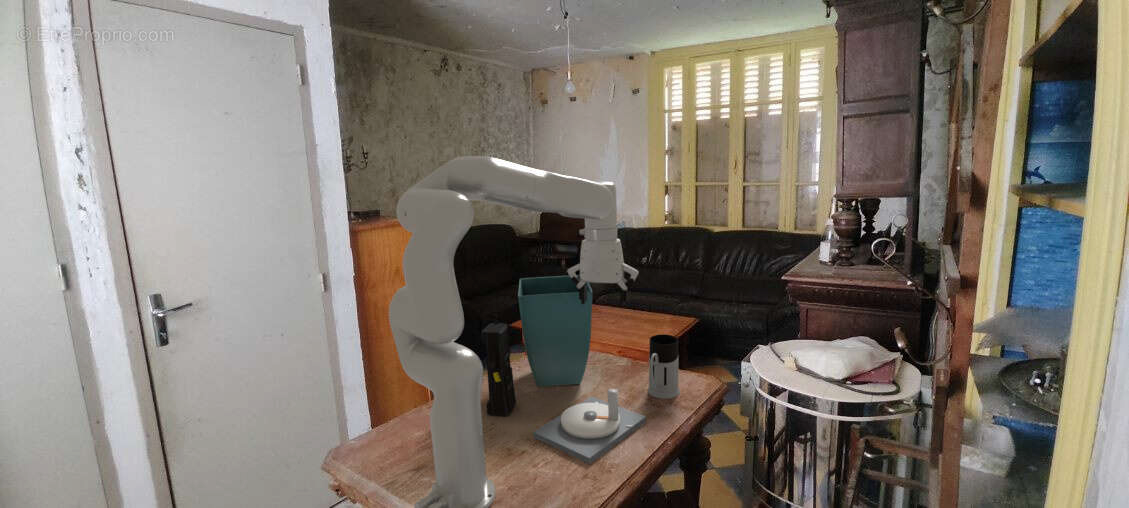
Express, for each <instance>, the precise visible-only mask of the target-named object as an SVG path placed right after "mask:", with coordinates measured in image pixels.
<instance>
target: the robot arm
mask: <svg viewBox="0 0 1129 508" xmlns="http://www.w3.org/2000/svg"><path fill="white" fill-rule="evenodd" d="M472 201H475V202H482V203H489V204H494V205H498V206H499V205H500V206H505V207H507V208H508V207H510V208H515V209H518V210H524V211H529V212H537V213H538V212H539V213H555V214H559V215H560V216H562V217H567V218H573V219H577V218H578V219H584V228H582V229H579V231H578V232H579V235H580V236H584V239H583V240H581V245H580V255H579V257H580V258H579V260H580V261H579V263H577V264H575V265H574V266H573V265H572V266H571V267H570V268H568V269H567V270H566V271H567V273H568V276H570V277H571V280H572V281H573V282H574V283H575V284H576V285H577V288H579V299H580V300H581V304H585V303H586V301H587V286H586V285H585V283H586V282H588V283H589V284H590V283H593V284H617V286H619V287H620V288H621V289H620V290H619V303H620V304H619V305H620V307H624V306H625V305H626V303H627V302H628V300H629V297H628V292H629V291H628V288H630V286H632V285H633V283H634V282H635V281H636V278H637V277H638V275H639V270H638V269H635V268H634V267H632V266H630V265H628V264H626V263H625V262H624V261H625V260H624V254H623V248H622V242H621V239H620V238H618V217H617V216H618V215H617V214H618V213H617V212H618V211H617V209H618V208H617V187H616V184H615V183H614V182H612V181H608V180H607V181H606V180H605V181H600V180H599V181H591V180H588V179H584V178H579V177H575V176H570V175H564V174H559V173H556V172H551V171H548V170H543V169H538V168H534V167H529V166H527V165H523V164H519V163H516V162H512V161H508V160H504V159H501V158H497V157H494V156H488V155H487V156H485V155H474V156H473V155H472V156H469V155H468V156H458V157H454V158H453V159H450V160H449V161H447V162H446V163H444V164H443V165H440V166H439V167H438V168H437V169H435V170H434V171H432V172H431V173H430V174H428V175H427V176H425V177H424V178H422V179H421V180H420V181H418V182H417V183H415V184H414V185H412V186H411V187H410V188H408V189H407V190H406V191H405V192H404V193H403V194H402V195H401V197H400V198H399V199H398V203H397V205H396V217H397V220H398V222H399V224H400V225H401V227H403V229H404V230H406V231H407V232H409V233H412V234H411V236H410V238H409V240H408V242H407V244H406V247H405V249H404V252H403V257H402V272H403V277H404V283H405V285H404V286H402V287H400V288H398V290H397V291H396V292H395V293H394V294H393V296H392V298H391V300H390V303H389V307H388V321H389V325H390V329H391V333H392V337H393V340H394V343H395V347H396V348H395V349H396V351H397V354H398V358H399V362H400V365H401V367H402V369H403V371H404V373H405V374H406V375H407V377H409V378H410V379H411V380H412V381H414V382H415V383H417V384H419V385H422V386H423V387H425V388H427V389H428V390H429V391H431V392H432V393H433V402H432V406H431V408H430V414H429V424H430V432H431V442H432V443H431V444H432V450H433V451H432V452H433V462H434V463H433V464H434V472H435V473H434V474H435V482H434V483H432V484H431V485H430V486H431V491H430V492H428V494H427V496H425V497H422V498H421V499H419V500H417V501H416V502H414V508H489V507H490V506H491V505H492V504H493V502H494V501H495V498H496V486H495V484H494V482H493V481H492V480H491V479H490V478H489V477H487V470H486V457H485V445H484V430H483V417H482V389H483V382H484V381H483V380H484V367H483V362H482V361H481V359H480V357H479V356H478V354H476V353H475V352H474V351H473V350H472V349H470V348H468V347H466V346H465V345H462V344H459V343H457V342H455V341H456V340H458V338H460V336H461V335H462V333H463V330H464V328H465V317H464V315H465V314H464V310H463V309H464V308H463V306H462V301H461V297H460V293H459V288H458V285H457V284H458V283H457V279H456V274H455V267H454V261H455V260H454V259H455V254H456V251H457V249H458V247H459V244H460V242H461V241H462V240H463V238H464V236H466V234H467V233H468V232H469V229H470V228H471V226H472V224H473V220H474V207H473V203H472ZM577 271H579V275H580V278H581V279H580V278H579V277H578V276H576V275H577V274H576V272H577ZM625 272H626V273H627V274H630V277H629V279H628V280H627V279H626V278H624V276H625Z"/></svg>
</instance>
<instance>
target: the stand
mask: <svg viewBox="0 0 1129 508" xmlns="http://www.w3.org/2000/svg"><path fill="white" fill-rule="evenodd" d="M582 403H600V404H605V405H608V401H605V400H603V399H600V398H597V397H595V396H590V397H587V398H586V399H585V400H583V401H582V402H580V403H579V404H582ZM618 413H619V415H620V426H619V428H618V430H617V431H615V432H614V433H613V434H611V435H609V436H606V437H602V438H597V439H584V438H578V437H575V436H572V435H570V434H568V433H567V432H565V431H564V430H563V428H562V425H561V416H562V413H561V414H560V415H558V416H556V417H554V418H553V419H552V420H550V421H548V422H546V423H545V424H543V425H541V426H540V427H538V428H536V429H535V430H533V431H532V438H534V439H535V440H537V439H538V441H540V442H542V443H544V444H546V445H548V446H550V447H552V446H553V448H554V447H555V448H554V449H556V448H557V450H558V449H559V451H561V452H563V453H565V454H567V455H569V456H571V457H573V458H576V459H578V460H580V461H582V462H584V463H587V464H588V465H591V464H592V463H594V462H595V461H596V460H598V459H600V457H602V456H603V455H604V454H606V453H607V452H608V451H609V450H610V449H612V448H614V446H616V445H618V444H619V443H620V442H621V441H624V439H625V438H627V437H628V436H629V435H631V434H632V433H633V432H635V431H636V430H637V429H639V428H640V427H642V426H643V425H644V424H646V422H647V416H646V415H643V414H640V413H639V412H635V411H634V410H633V411H632V410H630V409H627V408H625V407H622V406H619V405H618Z"/></svg>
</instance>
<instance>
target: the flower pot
mask: <svg viewBox="0 0 1129 508" xmlns="http://www.w3.org/2000/svg"><path fill="white" fill-rule="evenodd" d="M576 276H578V277H579V278H580V274H578V275H577V274H576ZM580 279H581V278H580ZM518 283H519V284H518V292H517V293H518V294H517V298H518V305H519V314H520V321H521V329H522V338H523V344H524V348H525V353H526V356H527V361H528V364H529V367H530V371H531V374H532V375H533V379H534V382H535V383H536V386H537V387H551V386H552V387H553V386H554V387H555V386H567V385H579V384H582V382H583V379H584V375H585V372H586V368H587V366H588V365H587V364H588V359H589V355H590V347H591V338H592V337H591V336H592V316H593V315H592V314H593V312H592V311H593V289H592V287H591V286H590V282H586V283H585V285H586V286H587V301H586V303H585V304H581V300H580V299H579V288H577V285H576V284H575V283H574V282H573V281H572V280H571V277H570V276H569V275H557V276H555V275H554V276H539V277H538V276H536V277H526V278H525V277H523V278H519V282H518Z"/></svg>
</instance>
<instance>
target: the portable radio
mask: <svg viewBox="0 0 1129 508" xmlns="http://www.w3.org/2000/svg"><path fill="white" fill-rule="evenodd" d="M497 316H498V314H494V317H495V321H494V322H493V323H489V324H488V325H486V327H484V329H482V330H481V332H480V336H481V338H480V339H481V343H484V345H485V356H486V372H487V384H488V385H487V386H488V397H489V398H488V401H487V403H486V414H487V415H489V416H499V417H508V416H509V415H510V414H511V413H512V411H513V410H514V407H515V405H516V404H517V400H516V394H515V386H514V383H515V382H514V375H513V374H514V373H513V367H512V366H511V359H510V355H511V344H510V331H509V326H508V323H502V322H499V320H498V317H497Z"/></svg>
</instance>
